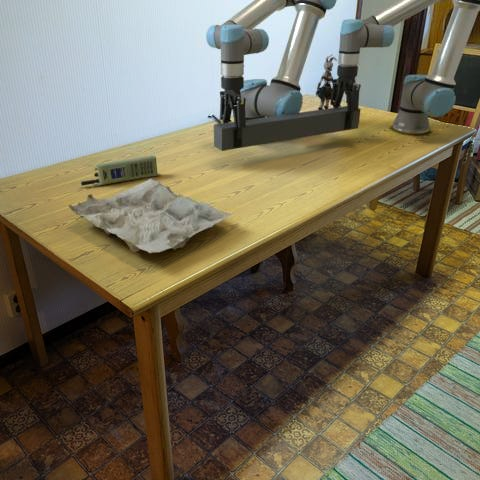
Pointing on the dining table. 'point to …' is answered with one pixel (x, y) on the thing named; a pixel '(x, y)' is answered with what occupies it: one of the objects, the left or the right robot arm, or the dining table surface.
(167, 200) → the grey pulp egg tray
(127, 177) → the handheld radio
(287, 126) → the beam
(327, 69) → the figurine
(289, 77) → the left robot arm
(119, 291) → the dining table surface
